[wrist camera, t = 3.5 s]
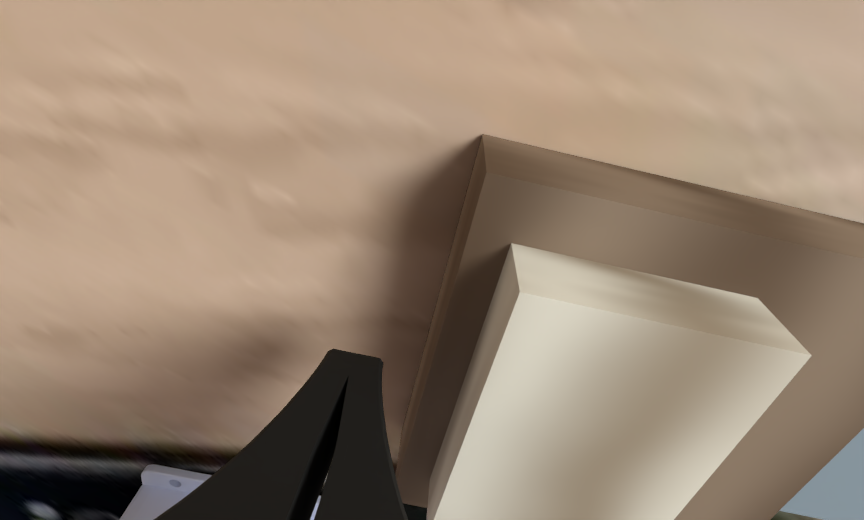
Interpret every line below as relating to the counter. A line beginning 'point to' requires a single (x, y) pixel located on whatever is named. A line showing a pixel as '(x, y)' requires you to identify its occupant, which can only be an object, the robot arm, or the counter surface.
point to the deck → (672, 258)
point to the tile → (604, 393)
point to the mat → (835, 487)
